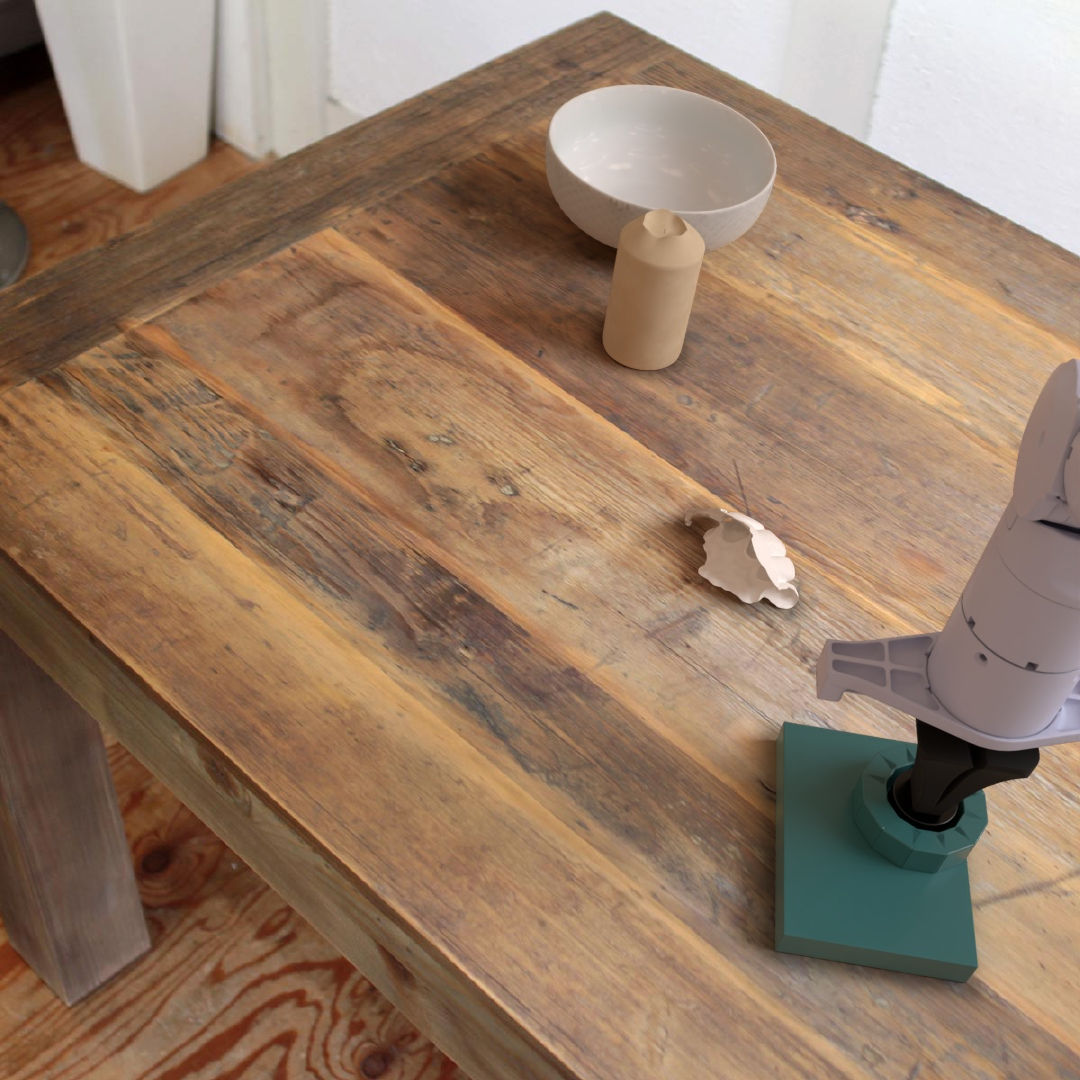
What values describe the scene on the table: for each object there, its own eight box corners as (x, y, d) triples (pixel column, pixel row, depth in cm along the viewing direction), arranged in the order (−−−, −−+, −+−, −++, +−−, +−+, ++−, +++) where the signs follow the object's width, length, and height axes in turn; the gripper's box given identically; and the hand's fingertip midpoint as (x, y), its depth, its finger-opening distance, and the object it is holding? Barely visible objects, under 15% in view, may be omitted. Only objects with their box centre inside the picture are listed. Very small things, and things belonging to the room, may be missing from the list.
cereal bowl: (491, 214, 100) (498, 130, 95) (630, 141, 110) (644, 60, 104) (666, 323, 94) (684, 238, 88) (798, 235, 103) (822, 154, 98)
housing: (977, 985, 62) (1005, 951, 59) (774, 951, 62) (793, 915, 60) (955, 769, 70) (978, 731, 68) (776, 739, 70) (792, 700, 68)
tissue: (753, 510, 82) (767, 465, 79) (804, 609, 77) (821, 565, 74) (668, 521, 80) (680, 476, 78) (715, 623, 75) (729, 579, 72)
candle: (694, 364, 91) (724, 240, 83) (621, 377, 89) (645, 252, 82) (660, 315, 94) (686, 192, 87) (589, 327, 92) (609, 202, 85)
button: (949, 848, 65) (961, 830, 63) (884, 838, 65) (894, 819, 63) (943, 792, 67) (955, 773, 66) (880, 782, 67) (891, 763, 66)
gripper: (1186, 575, 57) (1062, 752, 67) (851, 520, 57) (777, 704, 67) (1222, 707, 52) (1083, 877, 62) (858, 647, 53) (777, 825, 63)
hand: (925, 796), depth 65 cm, fingers closed, pressing on button
